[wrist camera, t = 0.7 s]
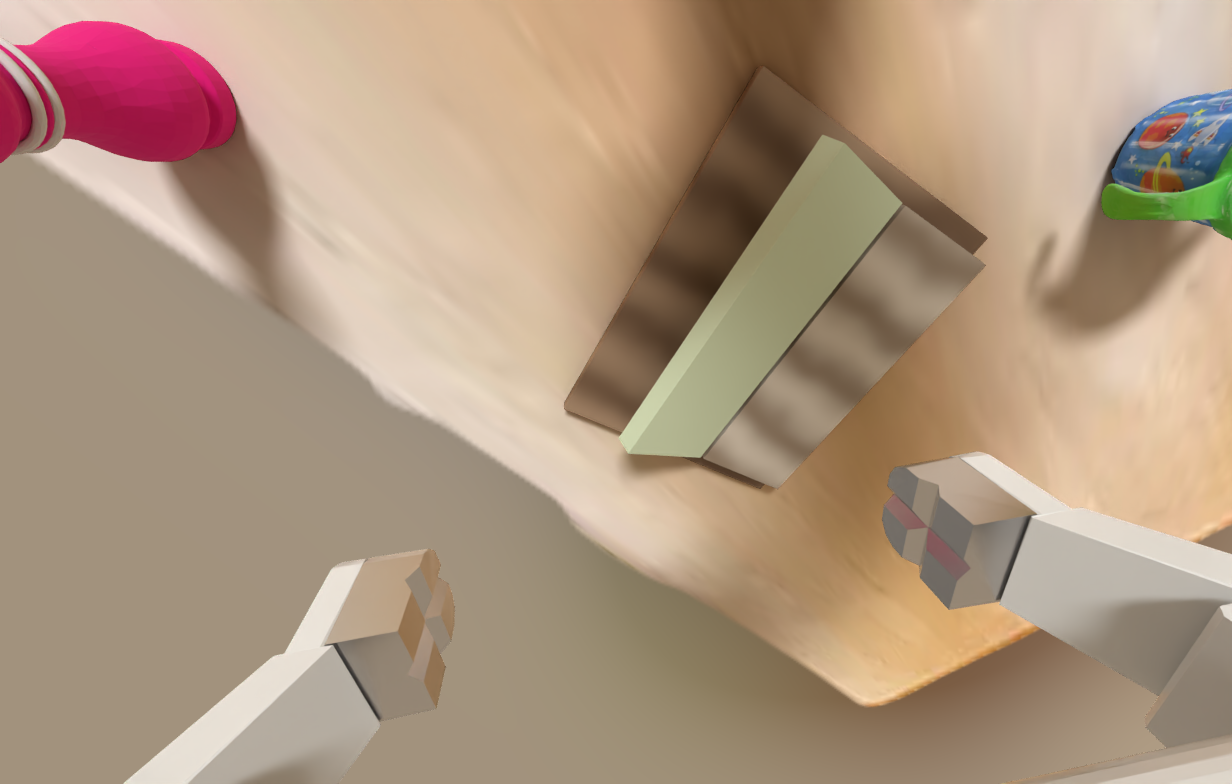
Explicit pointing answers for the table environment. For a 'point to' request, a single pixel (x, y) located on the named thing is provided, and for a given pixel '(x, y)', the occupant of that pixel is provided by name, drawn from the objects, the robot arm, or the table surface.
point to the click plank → (764, 301)
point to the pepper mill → (111, 94)
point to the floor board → (723, 242)
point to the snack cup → (1177, 165)
